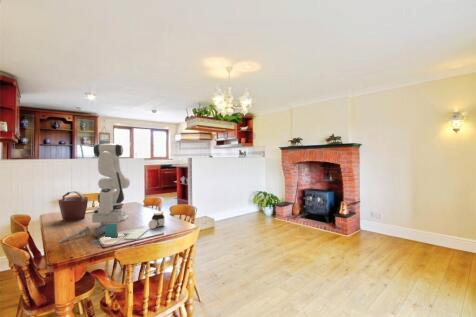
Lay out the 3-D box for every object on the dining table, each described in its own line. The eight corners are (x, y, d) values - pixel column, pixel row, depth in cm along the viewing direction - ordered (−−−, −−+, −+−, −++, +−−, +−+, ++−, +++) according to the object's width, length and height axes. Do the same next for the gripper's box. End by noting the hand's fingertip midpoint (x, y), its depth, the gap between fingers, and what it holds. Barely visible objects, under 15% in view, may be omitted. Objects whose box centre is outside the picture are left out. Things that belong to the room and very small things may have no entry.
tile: (106, 237, 168) (106, 223, 168) (117, 237, 168) (117, 223, 168) (105, 237, 167) (105, 223, 167) (116, 238, 167) (116, 223, 167)
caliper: (89, 234, 177) (88, 225, 177) (89, 234, 176) (89, 226, 176) (58, 243, 159) (58, 233, 159) (59, 243, 158) (59, 234, 158)
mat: (107, 233, 177) (107, 233, 177) (128, 233, 177) (128, 233, 177) (88, 245, 155) (88, 244, 155) (113, 245, 155) (113, 244, 155)
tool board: (136, 230, 184) (136, 229, 184) (147, 230, 184) (147, 229, 184) (123, 240, 164) (123, 238, 164) (136, 240, 164) (136, 238, 164)
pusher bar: (106, 228, 185) (106, 222, 185) (110, 228, 185) (110, 222, 185) (94, 236, 169) (94, 229, 169) (98, 236, 169) (98, 229, 169)
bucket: (55, 219, 217) (55, 192, 216) (82, 214, 235) (82, 189, 234) (66, 223, 203) (66, 194, 202) (94, 218, 221) (93, 191, 220)
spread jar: (165, 224, 200) (165, 211, 200) (163, 228, 189) (163, 214, 189) (150, 225, 198) (150, 211, 198) (147, 229, 187) (147, 215, 187)
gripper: (121, 209, 185) (122, 226, 186) (95, 209, 185) (95, 226, 185) (117, 211, 179) (118, 229, 179) (90, 211, 179) (90, 229, 179)
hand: (106, 228), depth 182 cm, fingers closed on pusher bar, 3 cm apart
